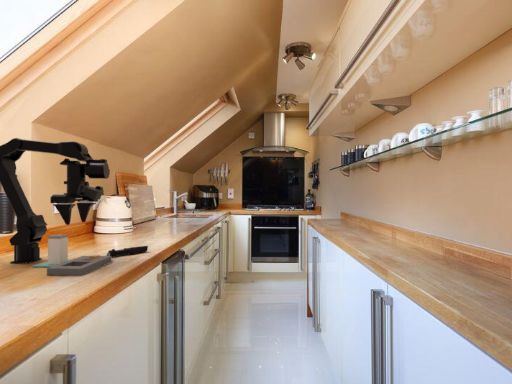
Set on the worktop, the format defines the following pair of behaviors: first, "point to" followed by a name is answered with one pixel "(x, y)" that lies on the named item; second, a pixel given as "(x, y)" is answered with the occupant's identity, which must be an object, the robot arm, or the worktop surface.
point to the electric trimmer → (127, 251)
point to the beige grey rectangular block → (57, 249)
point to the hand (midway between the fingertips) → (76, 223)
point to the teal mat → (45, 264)
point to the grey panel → (79, 265)
